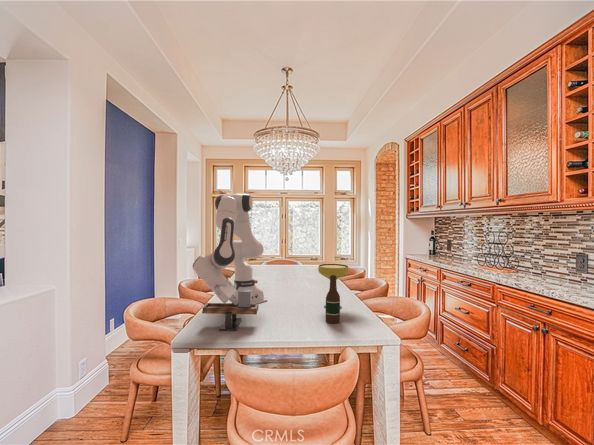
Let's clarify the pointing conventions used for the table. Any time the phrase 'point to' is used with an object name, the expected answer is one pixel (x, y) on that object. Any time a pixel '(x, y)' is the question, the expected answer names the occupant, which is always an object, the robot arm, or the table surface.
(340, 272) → the cocktail glass
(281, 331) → the table surface
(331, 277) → the beer bottle
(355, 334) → the table surface
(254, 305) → the balance beam
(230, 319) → the pivot stand
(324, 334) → the table surface
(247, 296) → the block
